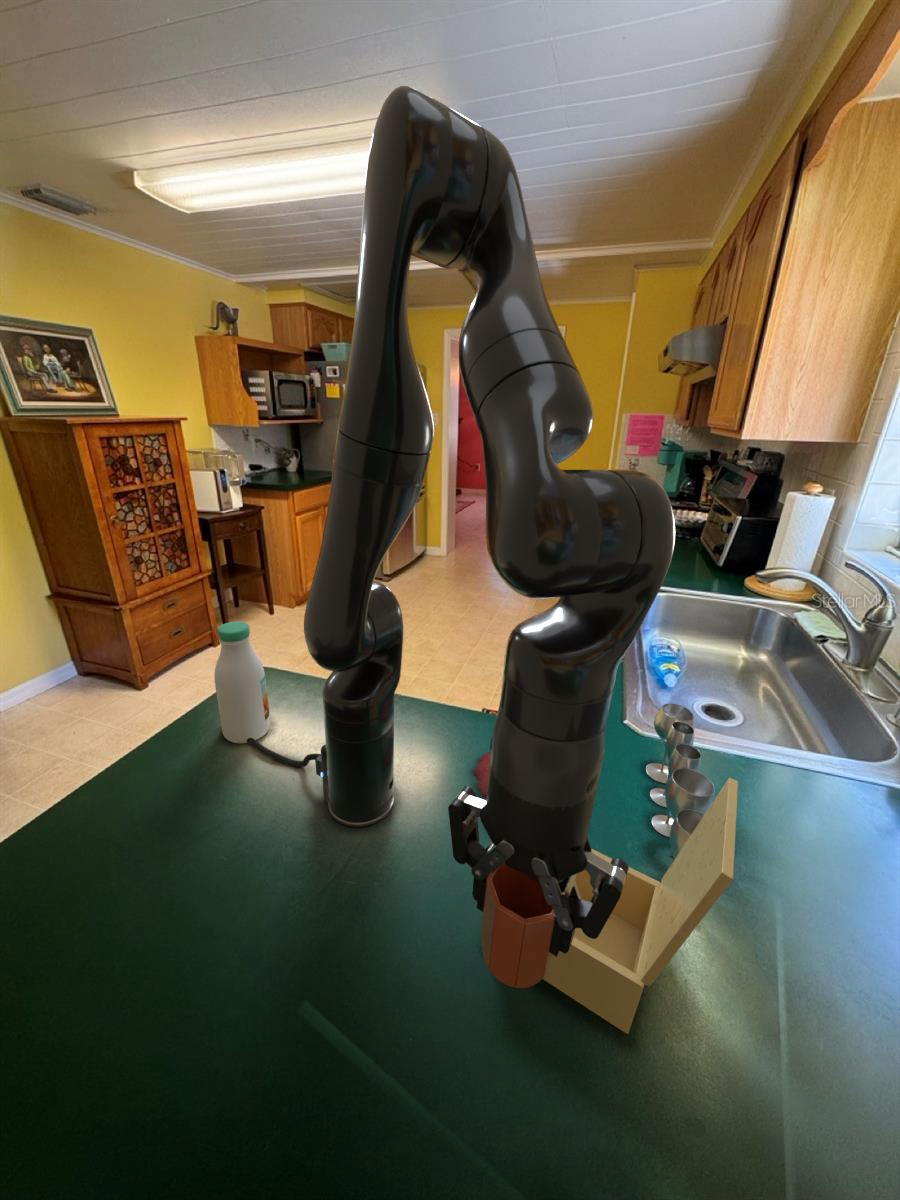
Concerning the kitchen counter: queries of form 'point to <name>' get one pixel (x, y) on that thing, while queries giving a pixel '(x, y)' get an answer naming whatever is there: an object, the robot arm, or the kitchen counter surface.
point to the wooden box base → (610, 952)
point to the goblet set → (679, 777)
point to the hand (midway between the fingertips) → (519, 922)
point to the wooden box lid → (693, 881)
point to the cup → (516, 928)
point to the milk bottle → (240, 686)
